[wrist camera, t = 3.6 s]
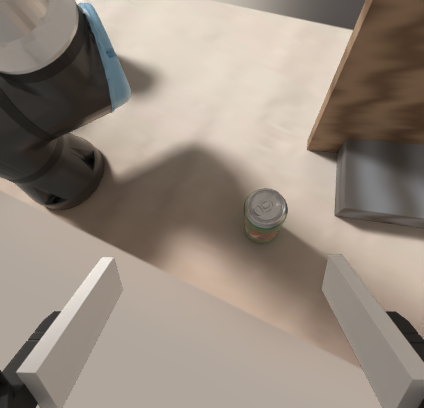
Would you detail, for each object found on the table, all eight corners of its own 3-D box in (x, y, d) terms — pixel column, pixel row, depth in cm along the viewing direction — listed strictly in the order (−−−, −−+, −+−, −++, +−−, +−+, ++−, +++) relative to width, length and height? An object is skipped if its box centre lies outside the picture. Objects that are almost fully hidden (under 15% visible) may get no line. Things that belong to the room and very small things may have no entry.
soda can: (283, 232, 37) (298, 210, 25) (257, 250, 36) (261, 236, 25) (263, 208, 38) (270, 177, 27) (239, 225, 38) (235, 201, 27)
